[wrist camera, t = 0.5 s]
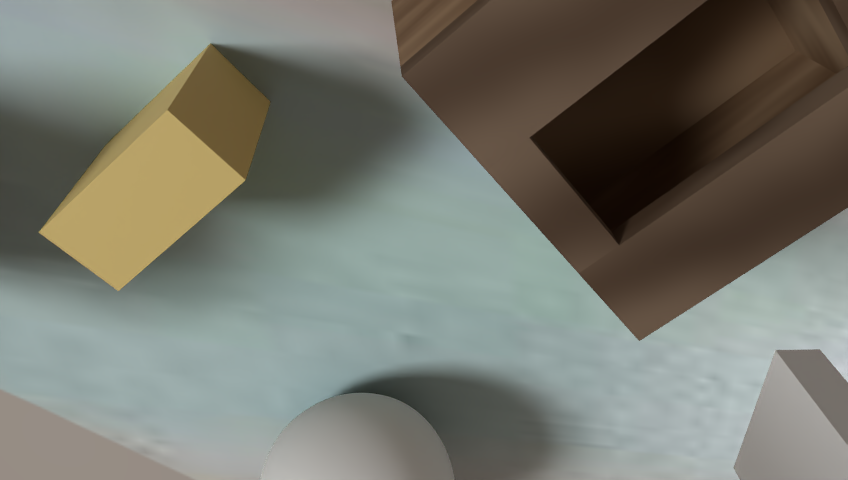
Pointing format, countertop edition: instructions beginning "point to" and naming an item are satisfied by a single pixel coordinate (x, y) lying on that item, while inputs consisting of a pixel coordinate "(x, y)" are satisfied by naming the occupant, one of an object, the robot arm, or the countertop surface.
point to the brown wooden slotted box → (646, 129)
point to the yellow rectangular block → (162, 171)
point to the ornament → (358, 443)
